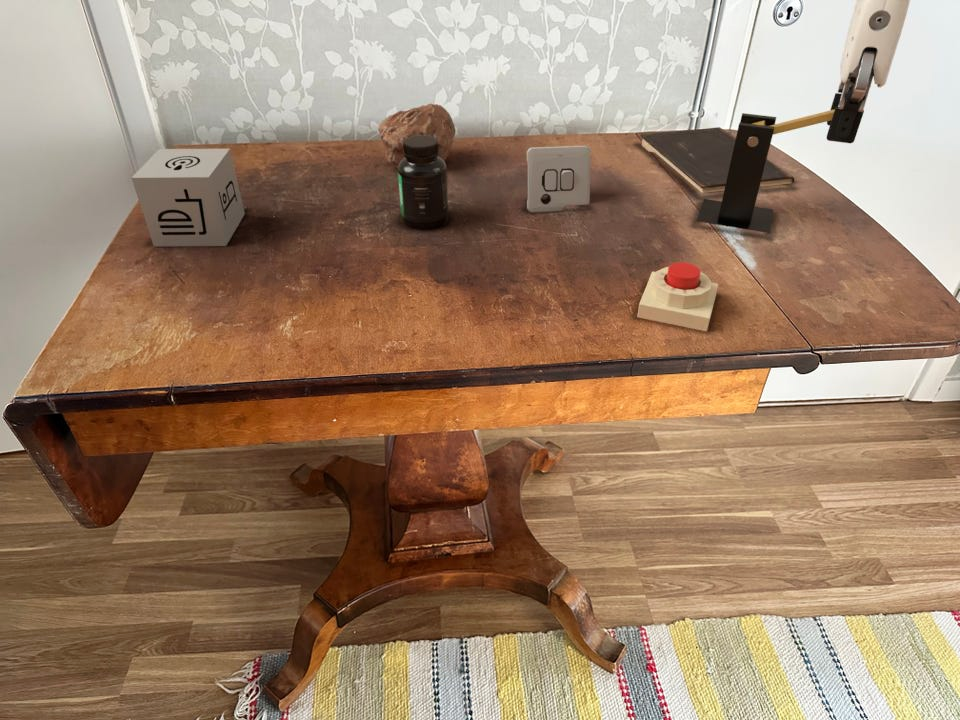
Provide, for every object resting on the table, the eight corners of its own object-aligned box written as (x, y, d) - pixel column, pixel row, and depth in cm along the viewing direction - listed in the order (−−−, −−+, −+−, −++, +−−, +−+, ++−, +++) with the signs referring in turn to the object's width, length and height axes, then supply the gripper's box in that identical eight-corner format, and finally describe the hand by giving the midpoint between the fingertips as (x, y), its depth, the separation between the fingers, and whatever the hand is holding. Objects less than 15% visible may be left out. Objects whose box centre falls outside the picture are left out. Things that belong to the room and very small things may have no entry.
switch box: (715, 298, 86) (721, 270, 83) (706, 334, 80) (713, 304, 78) (649, 286, 88) (654, 258, 86) (636, 319, 82) (641, 290, 80)
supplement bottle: (395, 229, 101) (388, 148, 93) (410, 209, 106) (404, 130, 99) (441, 234, 99) (437, 152, 92) (453, 213, 105) (451, 134, 97)
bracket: (771, 216, 104) (799, 115, 95) (767, 240, 98) (796, 135, 89) (702, 205, 107) (722, 107, 97) (694, 228, 101) (715, 125, 92)
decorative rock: (448, 148, 125) (446, 91, 119) (465, 172, 117) (464, 112, 111) (375, 157, 122) (370, 98, 116) (387, 182, 114) (382, 120, 108)
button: (699, 278, 83) (702, 265, 82) (695, 293, 80) (698, 280, 79) (668, 273, 84) (671, 260, 83) (663, 287, 81) (665, 274, 80)
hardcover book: (699, 200, 108) (702, 186, 107) (638, 147, 126) (640, 134, 124) (792, 190, 111) (796, 176, 109) (719, 139, 129) (722, 126, 127)
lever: (853, 113, 91) (851, 94, 90) (854, 125, 87) (852, 106, 86) (747, 139, 97) (743, 122, 96) (743, 151, 94) (740, 134, 93)
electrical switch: (527, 214, 104) (529, 152, 99) (522, 203, 109) (524, 142, 104) (589, 212, 105) (594, 149, 100) (582, 200, 109) (586, 140, 104)
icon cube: (226, 246, 97) (208, 177, 91) (153, 246, 97) (131, 177, 91) (244, 213, 105) (230, 148, 99) (177, 214, 105) (158, 149, 99)
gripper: (935, -10, 72) (873, 161, 83) (919, -36, 84) (868, 116, 96) (855, -15, 74) (806, 152, 85) (852, -40, 87) (809, 109, 98)
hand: (839, 132), depth 90 cm, fingers closed on lever, 5 cm apart
